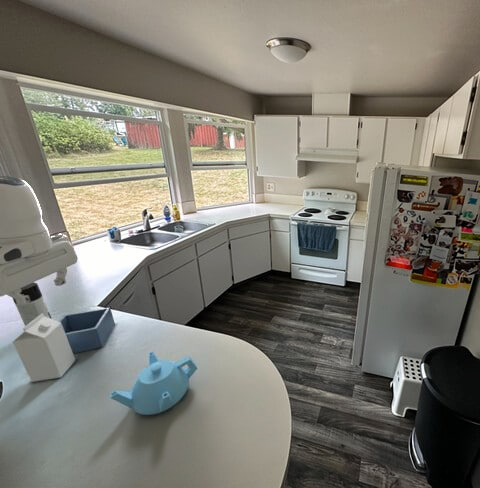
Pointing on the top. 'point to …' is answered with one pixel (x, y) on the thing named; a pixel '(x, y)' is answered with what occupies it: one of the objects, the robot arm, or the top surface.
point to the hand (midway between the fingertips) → (44, 293)
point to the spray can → (32, 304)
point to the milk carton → (44, 349)
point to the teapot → (157, 386)
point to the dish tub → (87, 329)
